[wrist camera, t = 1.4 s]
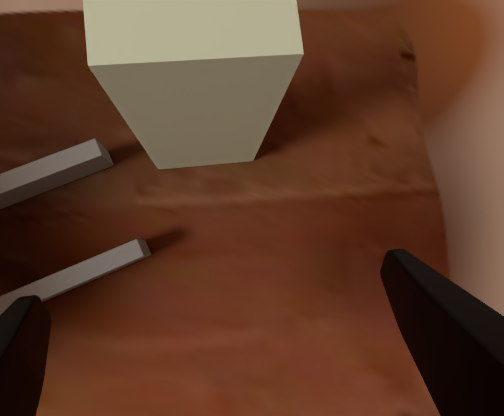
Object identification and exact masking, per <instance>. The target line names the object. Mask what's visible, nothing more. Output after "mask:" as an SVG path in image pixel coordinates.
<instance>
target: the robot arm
mask: <svg viewBox="0 0 504 416" xmlns="http://www.w3.org/2000/svg"><path fill="white" fill-rule="evenodd" d="M380 274H381V279H382V282H383V285H384V288H385V291H386V293H387V296H388V299H389V302H390V305H391V308H392V310H393V313H394V316H395V319H396V322H397V324H398V327H399V329H400V332H401V334H402V336H403V338H404V340H405V342H406V344H407V347H408V349H409V351H410V353H411V355H412V357H413V359H414V361H415V363H416V365H417V367H418V370H419V372H420V374H421V376H422V378H423V380H424V382H425V384H426V386H427V388H428V391H429V393H430V395H431V397H432V399H433V401H434V403H435V405H436V407H437V409H438V411H439V414H440V416H504V316H502V315H501V314H499V313H498V312H496V311H495V310H493V309H492V308H490V307H489V306H487V305H486V304H485V303H483V302H482V301H480V300H479V299H477V298H476V297H474V296H473V295H471V294H470V293H468V292H467V291H465V290H464V289H462V288H461V287H459V286H458V285H456V284H455V283H453V282H452V281H450V280H449V279H447V278H446V277H444V276H443V275H442V274H440V273H439V272H437V271H436V270H434V269H433V268H431V267H430V266H428V265H427V264H425V263H424V262H422V261H421V260H419V259H418V258H416V257H415V256H413V255H412V254H410V253H409V252H407V251H406V250H404V249H393V250H388V251H387V252H386V255H385V258H384V261H383V264H382V267H381V271H380ZM50 328H51V316H50V313H49V312H48V310H47V308H46V307H45V305H44V303H43V302H42V300H41V298H40V297H39V296H37V295H30V296H22V297H19V298H17V299H16V300H15V301H14V302H13V303H12V304H11V305H10V306H9V307H8V308H7V309H6V310H5V311H4V312H3V313H2V314H1V315H0V416H36V412H37V408H38V404H39V400H40V396H41V391H42V387H43V381H44V375H45V368H46V360H47V352H48V344H49V336H50Z"/></svg>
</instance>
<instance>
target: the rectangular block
mask: <svg viewBox="0 0 504 416" xmlns="http://www.w3.org/2000/svg"><path fill="white" fill-rule="evenodd" d="M83 7H84V20H85V33H86V46H87V59H88V67H89V68H90V69H91V71H92V72H93V74H94V75H95V77H96V78H97V80H98V81H99V83H100V84H101V86H102V87H103V89H104V90H105V92H106V93H107V95H108V96H109V97H110V99H111V100H112V102H113V103H114V105H115V106H116V108H117V109H118V111H119V112H120V114H121V115H122V117H123V118H124V120H125V121H126V123H127V124H128V126H129V127H130V128H131V130H132V131H133V133H134V134H135V136H136V137H137V139H138V140H139V142H140V143H141V145H142V146H143V148H144V149H145V151H146V152H147V154H148V155H149V156H150V158H151V159H152V161H153V162H154V164H155V165H156V167H157V168H158V170H159V169H170V168H181V167H192V166H203V165H214V164H225V163H236V162H247V161H253V160H254V158H255V156H256V154H257V152H258V150H259V147H260V145H261V143H262V141H263V139H264V137H265V135H266V133H267V131H268V128H269V126H270V124H271V122H272V120H273V118H274V116H275V114H276V111H277V109H278V107H279V105H280V103H281V101H282V99H283V97H284V94H285V92H286V90H287V88H288V86H289V84H290V82H291V80H292V78H293V75H294V73H295V71H296V69H297V67H298V65H299V63H300V61H301V58H302V56H303V54H304V53H303V45H302V38H301V31H300V24H299V16H298V9H297V2H296V0H83Z"/></svg>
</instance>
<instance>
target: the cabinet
mask: <svg viewBox="0 0 504 416" xmlns="http://www.w3.org/2000/svg"><path fill="white" fill-rule="evenodd" d="M111 166H114V164H113V162H112V160H111V157H110V155H109V152H108V150H107V149H105V148H104V147H103V146H102V145H101V144H100V143H99V142H98V141H97V140H96V139H92V140H90V141H87V142H84V143H82V144H79V145H76V146H74V147H71V148H68V149H66V150H63V151H60V152H57V153H55V154H52V155H49V156H47V157H44V158H41V159H39V160H36V161H33V162H31V163H28V164H25V165H23V166H20V167H17V168H15V169H12V170H9V171H6V172H4V173H1V174H0V209H2V208H5V207H8V206H10V205H13V204H15V203H18V202H21V201H23V200H26V199H28V198H31V197H33V196H36V195H39V194H41V193H44V192H46V191H49V190H52V189H54V188H57V187H59V186H62V185H64V184H67V183H70V182H72V181H75V180H77V179H80V178H83V177H85V176H88V175H90V174H93V173H96V172H98V171H101V170H103V169H106V168H108V167H111ZM148 256H151V253H150V251H149V248H148V246H147V243H146V241H145V240H141V239H135V240H133V241H130V242H128V243H126V244H123V245H121V246H119V247H116V248H114V249H111V250H109V251H107V252H104V253H102V254H100V255H97V256H95V257H92V258H90V259H88V260H85V261H83V262H81V263H78V264H76V265H73V266H71V267H69V268H66V269H64V270H62V271H59V272H57V273H54V274H52V275H50V276H47V277H45V278H43V279H40V280H38V281H35V282H33V283H31V284H28V285H26V286H24V287H21V288H19V289H16V290H14V291H12V292H9V293H7V294H4V295H2V296H0V315H1V314H2V313H3V312H4V311H5V310H6V309H7V308H8V307H9V306H10V305H11V304H12V303H13V302H14V301H15V300H16V299H17V298H19V297H22V296H30V295H37V296H39V297H40V298H41V300H42V302H44V301H46V300H48V299H51V298H53V297H55V296H58V295H60V294H62V293H65V292H67V291H69V290H72V289H74V288H76V287H79V286H81V285H83V284H85V283H88V282H90V281H92V280H95V279H97V278H99V277H102V276H104V275H106V274H109V273H111V272H113V271H116V270H118V269H120V268H123V267H125V266H127V265H130V264H132V263H134V262H137V261H139V260H141V259H144V258H146V257H148Z"/></svg>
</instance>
